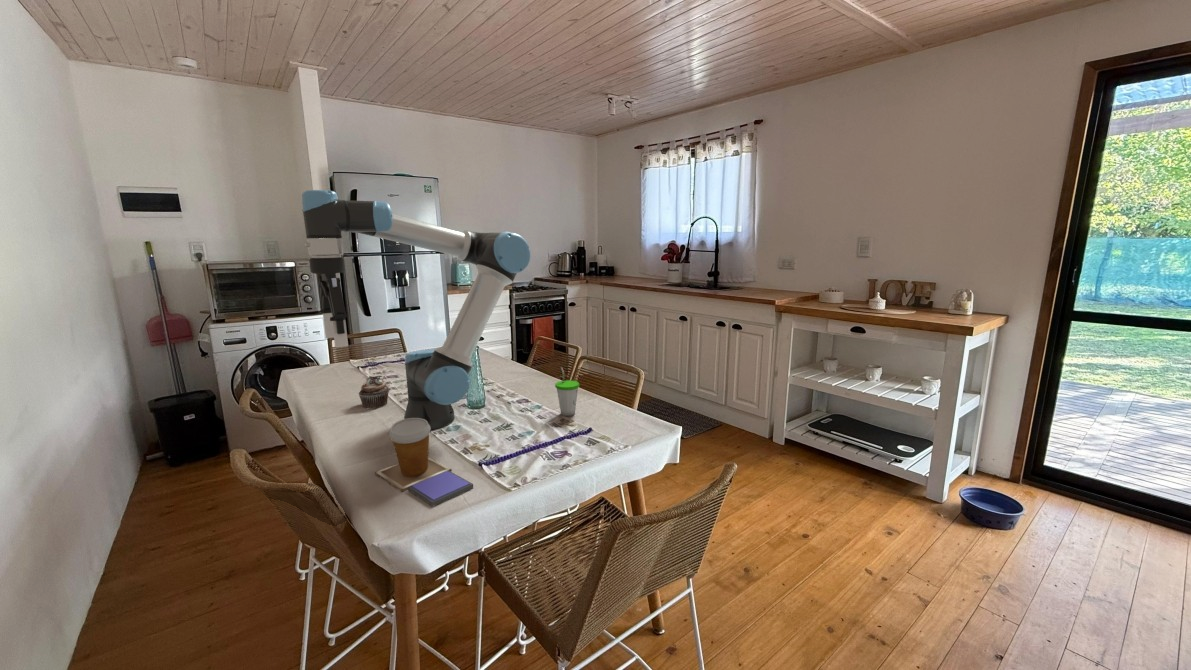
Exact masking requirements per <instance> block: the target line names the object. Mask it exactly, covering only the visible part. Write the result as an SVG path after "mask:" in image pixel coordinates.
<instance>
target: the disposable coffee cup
mask: <svg viewBox="0 0 1191 670" xmlns="http://www.w3.org/2000/svg"><path fill="white" fill-rule="evenodd" d="M431 430H432V429H431V427H430V425H429V424H428V422H427V421H426V420H425V419H422V418H408V419H404V418H403V419H401V420H398V421H396V422H395V423H393V424H392V425H391V427H390V430H389V432H388V436H389V438H390V440H391V442H392V445H393V447H394V448H393V449H394V451H395V456H396V458H397V462H398V463H399V466H400V469H401V473H402V474H403V475H405V476H416V475H419V474H422V473H424V472H425V471H426V470H427V469H428V457H429V450H430V449H429V447H430V444H429V443H430V432H431Z"/></svg>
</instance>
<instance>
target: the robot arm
mask: <svg viewBox="0 0 1191 670" xmlns="http://www.w3.org/2000/svg"><path fill="white" fill-rule="evenodd" d="M301 201H302V215H303V223H304V229H305V230H304V231H305V237H306V242H305V243H304V247H306V248H307V251H308V252H307V253H308V255H309V256H310V258H309V260H308V261H309V269H310V273H312V274H315V275H318V281H319V282H318V283H319V292H320V293H319V296H320V309H321V311H322V319H323V327H324V335H325V339H334V347H335V348H345V347H349V341H348V332H347V323H346V319H347V318H348V315H347V310H346V307H345V302H344V296H343V292H342V291H343V290H342V287H341V278H340V277H337V274H342V273H345V271H346V265H345V264H346V263H345V258H344V257H342V256H343V255H345V254H344V253H345V252H344V245H343V237H342V232H344V233H345V232H349V233H354V234H361V235H364V236H370V237H375V238H378V239H384V240H387V241H392V242H396V243H400V244H404V245H410V246H412V247H417V248H421V249H426V250H429V251H434V252H439V253H441V254H446V255H451V256H455V257H457V259H458V261H461V262H466V263H468V264H469V263H470V264H473V265H474V266H476V269H477V272H478V274H477V275H476V277H475V279H474V282H473V283H472V286H471V288H470V290H469V292H468V294H467V295H466V298H465V300H464V302H463V304H462V306H461V308H460V310H459V312H458V314H457V317H456V318H455V320H454V322H453V325H452V326H451V328H450V331H449V332H448V335H447V337H446V339H445V341H444V343H443V344H442V346H439V347H437V348H432V349H431V348H430V349H429V348H428V349H421V350H416V351H411V352H408V353H406V354H405V356H404V367H405V377H406V387H407V388H406V389H407V398H408V399H407V405H406V409H405V412H404V417H403V419H408V418H422V419H425V420H426V421H427V422H428V424H429V425H430V427H431V430H434V429H435V430H436V429H439V428H442V427H445V426H448V425H450V424H451V423H453V422H454V421H455V418H456V417H455V416H456V415H455V410H454V408H453V404H455V403H458V402H459V401H461V400H462V399H464V397H465V396H466V395H467V394H468V391H469V389H470V385H471V382H470V377H469V376H470V375H469V374H470V371H471V370H472V367H473V364H472V360H471V358H472V356H473V353H474V351H475V349H476V347H477V345H478V343H479V341H480V339H481V337H482V335H483V332H484V330H485V328H486V326H487V324H488V322H489V320H490V318H491V316H492V314H493V311H494V310H495V308H496V305H497V304H498V301H499V299H500V297H501V295H502V293H503V291H504V289H505V287H506V286H508V285H509V286H510V285H511V284H513V282H514V280H515V278H516V276H517V274H519V273H521V272H523V271H524V270H525V269H527V267H528V266H529V263H530V262H531V249H530V247H529V244H528V242H527V240H526V239H525V238H524V237H523V236H522V235H520V234H518V233H515V232H512V231H511V232H510V231H503V232H476V231H471V230H467V229H465V230H463V231H458V230H454V229H451V228H446V227H443V226H440V225H436V224H431V223H428V222H424V221H420V220H417V219H414V218H409V217H405V216H403V215H398V214H395V213H393V211H392V207H391V206H390V203H388V202H386V201H377V200H343V199H339V197H338V195H337V192H335V191H333V190H325V189H311V190H310V189H308V190H305V191H303V193H302V194H301Z"/></svg>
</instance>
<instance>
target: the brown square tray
mask: <svg viewBox="0 0 1191 670" xmlns="http://www.w3.org/2000/svg"><path fill="white" fill-rule="evenodd" d="M445 471H450V472H452V471H453V470H452V468H450V467H448V466H447V465H445V464H442V463H441V462H440V461H438V460H436V459H433V458H431V457H430V456H428V469H427V470H426V471H425V472H424V473H422V474H419V475H416V476H405V475H403V474H402V473H401V469H400V466H399V462H398V463H396V464H394V465H390V466H387V467H384V468H382V469H380V470H377V471H374V473H375V475H376V476H378V477H379V478H380V477H381V480H383V481H384V482H385V483H388V484H389V485H390V486H392V487H394V488H395V489H397V490H398V491H400V492H402V493H403V492H405V491H407V490H409V486H411V485H414V484H416V483H418V482H421V481H423V480H426V479H428V478H431V477H433V476H436V475H438V474H440V473H443V472H445Z"/></svg>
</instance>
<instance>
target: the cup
mask: <svg viewBox="0 0 1191 670" xmlns="http://www.w3.org/2000/svg"><path fill="white" fill-rule="evenodd" d="M560 370H561V372H562V373H561V374H562V380H560V381H557V382H556V383H554V385H555V388H556V392H557V397H558V404H559V409H560V410H559V411H560V415H561V416H563V415H564V417H571V416H574V415H575V414H576V409H577V408H576V406H577V400H578V391H579V388H580V383H579V381H576V380H568V379H566V380H565V371H564V369H563V367H562V366H561V367H560Z"/></svg>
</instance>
